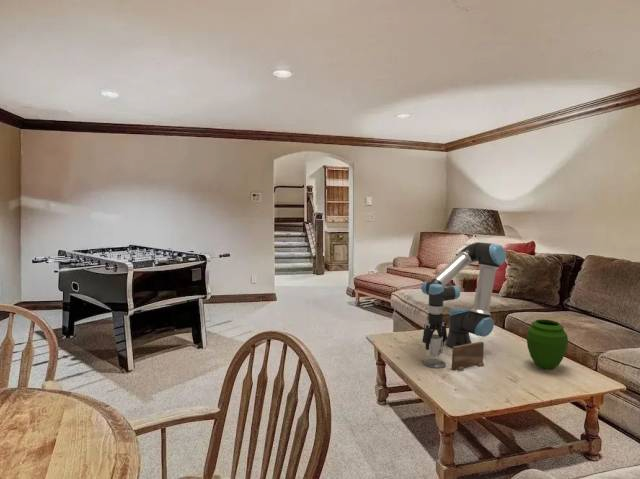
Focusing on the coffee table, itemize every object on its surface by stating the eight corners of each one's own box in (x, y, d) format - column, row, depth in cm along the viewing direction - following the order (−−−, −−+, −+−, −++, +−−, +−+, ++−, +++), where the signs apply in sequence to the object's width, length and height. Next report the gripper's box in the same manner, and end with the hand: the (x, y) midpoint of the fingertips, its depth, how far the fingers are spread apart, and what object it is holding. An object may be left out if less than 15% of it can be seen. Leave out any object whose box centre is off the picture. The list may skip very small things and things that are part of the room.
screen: (449, 367, 215) (449, 345, 214) (477, 361, 224) (478, 340, 222) (457, 371, 210) (457, 349, 209) (485, 365, 218) (486, 343, 217)
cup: (442, 357, 215) (443, 339, 214) (427, 356, 216) (427, 338, 216) (441, 352, 223) (441, 334, 222) (426, 351, 224) (426, 333, 223)
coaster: (418, 361, 223) (418, 360, 223) (435, 358, 228) (435, 357, 228) (433, 370, 212) (433, 368, 212) (450, 366, 217) (450, 365, 217)
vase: (566, 377, 202) (569, 330, 200) (523, 369, 212) (525, 324, 210) (567, 364, 219) (569, 320, 216) (526, 357, 229) (528, 315, 227)
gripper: (424, 316, 210) (423, 359, 212) (455, 312, 218) (454, 353, 220) (415, 313, 217) (414, 354, 219) (445, 309, 225) (444, 349, 227)
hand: (434, 354), depth 219 cm, fingers closed on cup, 8 cm apart
